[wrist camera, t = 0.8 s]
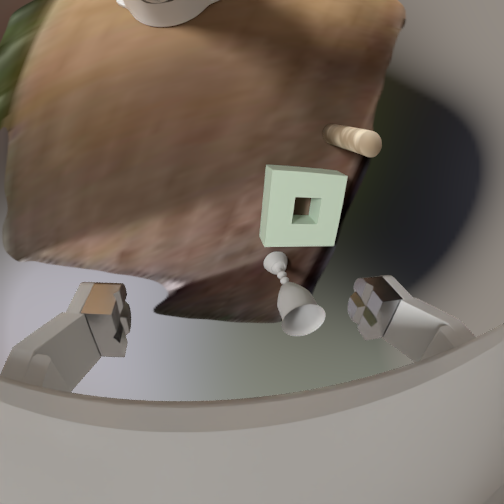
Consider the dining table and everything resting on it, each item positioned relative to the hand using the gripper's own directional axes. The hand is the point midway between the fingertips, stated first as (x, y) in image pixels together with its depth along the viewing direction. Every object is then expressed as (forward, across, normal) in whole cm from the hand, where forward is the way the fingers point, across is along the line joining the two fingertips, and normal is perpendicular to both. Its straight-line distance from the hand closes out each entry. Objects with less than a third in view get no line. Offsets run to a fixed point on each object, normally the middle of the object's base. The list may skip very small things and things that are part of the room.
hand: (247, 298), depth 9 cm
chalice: (+40, -14, +23) cm, 48 cm away
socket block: (+40, -17, +10) cm, 45 cm away
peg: (+40, -22, -4) cm, 46 cm away
